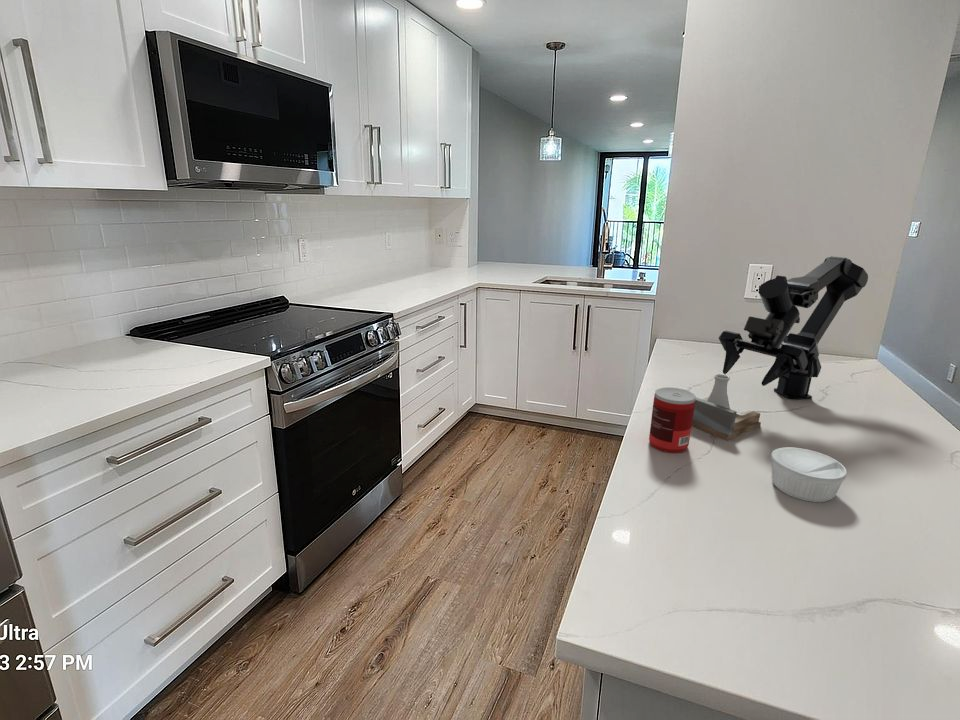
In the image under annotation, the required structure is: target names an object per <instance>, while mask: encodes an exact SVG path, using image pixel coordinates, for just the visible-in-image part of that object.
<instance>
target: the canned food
mask: <svg viewBox="0 0 960 720" xmlns="http://www.w3.org/2000/svg"><path fill="white" fill-rule="evenodd" d="M695 401H696V395H695V394H694V393H693V392H691V391H690V390H687V389H683V388H679V387H660V388H656V390H655V392H654V397H653V404H652V412H651V419H650V428H649V434H648V435H649V437H648V440H649V444H650V445H651V447H652V448H655V450H658V451H661V452H664V453H669V454H677V453H683V452H685V451H686V450H687V449H688V447H689V446H690V439H691V433H692V421H693V414H694V408H695Z"/></svg>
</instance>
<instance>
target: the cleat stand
mask: <svg viewBox="0 0 960 720" xmlns="http://www.w3.org/2000/svg"><path fill="white" fill-rule="evenodd" d="M707 399H708V397H705V398H699V397H696V401H695V408H694V414H693V421H692V427H693V428H695V429H698V430H700V431H703V432H705V433H707V434H710V435H712V436H715V437H718V438H719V439H723V440H725V441H728V440H731V439H733V438H735V437H738V436H740V435H743V434H745V433H749V432H750V431H753V430H755V429H758V428H760V427H761V424H762V422H760V416H761V413H760V412H758V411H754V410H753V411H750V412H748V413H747V412H746V413H745V414H741V415H740V414H738V413H737V412H738V411H736V410H733V409H731V408H730V409H728V408H725V407H723V406H720V405H717V404H714V403H711V402H708V401H707ZM692 427H691V428H692Z"/></svg>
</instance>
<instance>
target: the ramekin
mask: <svg viewBox="0 0 960 720" xmlns="http://www.w3.org/2000/svg"><path fill="white" fill-rule="evenodd" d="M770 460H771V479H772V483H773V484H774V485H775V487H776V488H777V489H778V490H779V491H781V492H782V493H784V494H786V495H788V496H790V497H792V498H795V499H798V500H802V501H805V502H812V503H825V502H828V501H830V500H833V499H834V498H835V497H836V495H837V494H838V491H839V490H840V488H841V485H842V483H843V482H844V481H845V480H846V479H847V475H848V470H847V468H846V467H845V465H843V464H842V463H841V462H840V461H839V460H836V459H835V458H833V457H831V456H829V455H826V454H824V453H822V452H818V451H815V450H811V449H806V448H803V447H802V448H800V447H790V446H789V447H787V446H785V447H779V448H776V449H774V450H773V451H772V452H771V455H770Z"/></svg>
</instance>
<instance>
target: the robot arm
mask: <svg viewBox="0 0 960 720" xmlns="http://www.w3.org/2000/svg"><path fill="white" fill-rule="evenodd" d="M868 280H869V274H868V273H867V271H866V270H865V269H864V268H863V267H862V266H859V265H858V264H856V263H854V262H852V260H851V259H850V258H848V257H841V256H840V257H839V256H832V255H831V256H827V257H826V258H825V259H824V261H823V262H822V263H820V264H819V265H817V266H816V267H814V268H813V269H812V270H811V271H809V272H808V273H806V274H805V275H803V276H798V277H792V278H789V279H787V276H784V275H776V276H775V278H772V279H768V280H767V281H765V282H763V283H761V284H760V286H759V288H758V294H759V297H760V299H761V301H762V302H761V303H762V305H763V308H765V310H766V312H768V315H767V316H766V317H765V318H760V317H755V316H748V318H747V319H746V323H745V325H744V328H743V330H744V331H746V332H748V334H747V336H748V339H750V340H751V341H748V340H745V339H743V338H742V335H741V333H740V332H734V331H730V330H724V331H722V332H721V333H720V334H719V336H718V340H719V342H720V344H721V346H722V348H723V350H724V351H725V357H724V363H723V369H722V373H723V375H726V374H728V373H729V372H730V370H731V369H732V368H733V367H734V366H735V364H737V362H738V361H739V359H740V358H741V355H740V354H742V353H744V350H746V351H752V352H755V353H759V354H763V355H765V356H766V355H767V356H771V357H774V358H775V360H774V363H773V364H772V365H771V367H770V368H769V370H768V371H767V372H766V374H765V375H764V377H763V379H762V381H761V383H760V384H761V386H763V387H764V386H767V385H768V384H770V383H772V382H774V381H775V380H777V379H778V381H777V387H776V388H775V387H774V388H773V391H774V392H776V393H778V394H780V395H782V396H783V397H785V398H787V399H789V400H794V399H797V400H799V399H813V396H812V395H810V394H809V392H810V387H811V382H812V378H818V377H819V375H820V373H821V369H822V364H821V361H820V359H819V356H820V353H819V351H820V350H819V346H818V345H819V343H820V341H821V340H822V338H823V336H824V334H825V333H826V332H827V330H828V328H829V327H830V326H831V324H832V322H833V320H834V319H835V317H836V316H837V314H838V313H839V311H840V309H841V308H842V306H843V305H844V303H845V302H846V301H848V300H850V299H852V298H855V297H857V296H858V295H859V293H860V292H861V291H862V290H863V289H864V288H865V286H867V284H868ZM823 289H826V291H825V293H824V294H823V296H822V297H821V299H820V300H819V302H818V303H817V305H816V306H815V308H814V309H813V311H812V312H811V313H810V316H809V317H808V319H807V321H806V322H805V324H804V325H803V326H802V328H801V330H800V331H799V332H797V333H794V332H792V333H791V332H790V331H791V329H792V328H793V326H794V324H800V322H801V317H800V315H801V314H800V310H799V309H798V308H804V309H808V308H810V307H812V306H813V305H814V304H815V303H816V302H817V301H818V299H819V292H820V291H821V290H823ZM789 332H790V333H789Z"/></svg>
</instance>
